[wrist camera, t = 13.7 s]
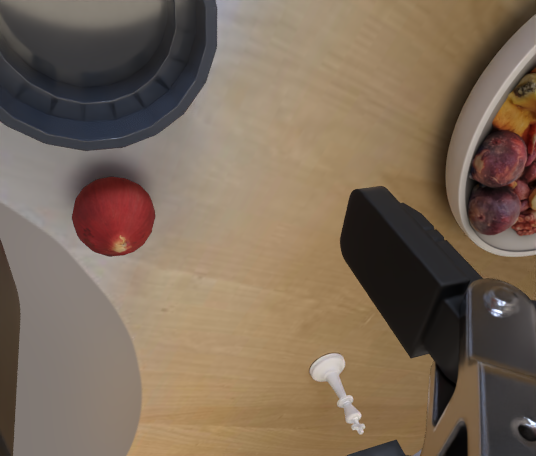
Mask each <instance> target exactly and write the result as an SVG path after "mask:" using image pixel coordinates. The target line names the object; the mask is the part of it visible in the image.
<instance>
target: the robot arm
mask: <svg viewBox="0 0 536 456" xmlns="http://www.w3.org/2000/svg"><path fill="white" fill-rule="evenodd" d="M340 246H341V252H342V255H343V257H344V260H345V261H346V263H347V264H348V266H349V267H350V269H351V270H352V272H353V273H354V275H355V276H356V278H357V279H358V281H359V282H360V284H361V285H362V287H363V288H364V290H365V291H366V292H367V294H368V295H369V297H370V298H371V300H372V301H373V303H374V304H375V306H376V307H377V309H378V310H379V312H380V313H381V315H382V316H383V318H384V319H385V321H386V322H387V324H388V325H389V327H390V328H391V330H392V331H393V333H394V334H395V336H396V337H397V338H398V340H399V341H400V343H401V344H402V346H403V347H404V349H405V350H406V352H407V353H408V355H409V356H410V358H414V357H418V356H422V355H425V354H430V355H431V357H432V358H433V360H434V361H433V363H432V365H431V368H430V378H429V391H428V405H427V419H426V432H425V439H424V444H423V448H422V451H421V454H420V456H536V301H535V300H530V299H529V297H528V296H527V295H526V294H525V293H523V292H522V291H521V290H519V289H518V288H516V287H515V286H513V285H511V284H509V283H506V282H504V281H501V280H496V279H489V278H485V279H483V278H482V277H481V276H480V275H479V274H478V273H477V272H476V271H475V270H474V269H473V268H472V267H471V265H470V264H469V263H468V262H467V261H466V260H465V259H464V258H463V257H462V256H461V255H460V254H459V253H458V252H457V251H456V250H455V249H454V248H453V246H452V245H451V244H450V243H449V242H448V241H447V240H446V241H445V240H444V237H443V236H442V235H441V234H440V233H439V232H438V231H437V230H434V226H433V225H432V224H431V223H430V222H429V221H428V220H427V219H426V218H425V217H424V216H423V215H422V214H421V213H420V212H418V211H416V210H415V209H413V208H411V207H410V206H408V205H406V204H404V203H400V202H399V201H398V200H397V199H396V198H395V197H394V196H393V195H392V194H391V193H390V192H389V191H388V189H386V188H385V187H383V186H378V187H370V188H363V189H355V190H353V191H352V193H351V195H350V198H349V202H348V206H347V210H346V215H345V219H344V224H343V228H342V232H341V237H340ZM19 333H20V303H19V297H18V292H17V289H16V285H15V282H14V279H13V276H12V273H11V270H10V267H9V264H8V261H7V258H6V255H5V251H4V249H3V245H2V243H1V240H0V456H13V442H14V424H15V406H16V387H17V369H18V349H19ZM347 456H409V455H405V454H404V452H403V450H402V449H401V447H400V445H399V443H398V441H397V440H394V441H390V442H387V443H384V444H381V445H378V446H375V447H371V448H368V449H365V450H362V451H359V452H356V453H352V454H349V455H347Z"/></svg>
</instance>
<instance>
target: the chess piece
mask: <svg viewBox="0 0 536 456" xmlns="http://www.w3.org/2000/svg"><path fill="white" fill-rule="evenodd" d="M344 367H345V361H344V358H343V356H342V355H340V354H337V353H332V354H327V355H325V356H322V357H321V358H319V359H318V360H316V361H315V362H314V363H313V364H312V366H311V368H310V375H311V376H312V378H313V379H314V380H316V381H319V382H323V381H328V383H329V384H330V385H331V387H332V388H333V390H334V391H335V393H336V394H337V396H338V397H339V399H340V400H339V401H338V402H337V405H338V406H339V407H340V408H344V412H345V419H346V422H347V423H350V424H351V423H354V425H352V426H351V428H352V430H357V431H358V433H359V434H363V432H364V431H363V429H364V428H365V425H364V424H359V422H358V420H359V419H360V418H361V413H360V412H359V411H358V410H357V409H356V408H355V407H354V406H353V405H352V404H351V403H352V402H353V397H352V396H350V395H348V396H346V393H345V391H344V388H343V386H342V383H341V380H340V377H339V374H340V373H341V372H342V371H343V369H344Z"/></svg>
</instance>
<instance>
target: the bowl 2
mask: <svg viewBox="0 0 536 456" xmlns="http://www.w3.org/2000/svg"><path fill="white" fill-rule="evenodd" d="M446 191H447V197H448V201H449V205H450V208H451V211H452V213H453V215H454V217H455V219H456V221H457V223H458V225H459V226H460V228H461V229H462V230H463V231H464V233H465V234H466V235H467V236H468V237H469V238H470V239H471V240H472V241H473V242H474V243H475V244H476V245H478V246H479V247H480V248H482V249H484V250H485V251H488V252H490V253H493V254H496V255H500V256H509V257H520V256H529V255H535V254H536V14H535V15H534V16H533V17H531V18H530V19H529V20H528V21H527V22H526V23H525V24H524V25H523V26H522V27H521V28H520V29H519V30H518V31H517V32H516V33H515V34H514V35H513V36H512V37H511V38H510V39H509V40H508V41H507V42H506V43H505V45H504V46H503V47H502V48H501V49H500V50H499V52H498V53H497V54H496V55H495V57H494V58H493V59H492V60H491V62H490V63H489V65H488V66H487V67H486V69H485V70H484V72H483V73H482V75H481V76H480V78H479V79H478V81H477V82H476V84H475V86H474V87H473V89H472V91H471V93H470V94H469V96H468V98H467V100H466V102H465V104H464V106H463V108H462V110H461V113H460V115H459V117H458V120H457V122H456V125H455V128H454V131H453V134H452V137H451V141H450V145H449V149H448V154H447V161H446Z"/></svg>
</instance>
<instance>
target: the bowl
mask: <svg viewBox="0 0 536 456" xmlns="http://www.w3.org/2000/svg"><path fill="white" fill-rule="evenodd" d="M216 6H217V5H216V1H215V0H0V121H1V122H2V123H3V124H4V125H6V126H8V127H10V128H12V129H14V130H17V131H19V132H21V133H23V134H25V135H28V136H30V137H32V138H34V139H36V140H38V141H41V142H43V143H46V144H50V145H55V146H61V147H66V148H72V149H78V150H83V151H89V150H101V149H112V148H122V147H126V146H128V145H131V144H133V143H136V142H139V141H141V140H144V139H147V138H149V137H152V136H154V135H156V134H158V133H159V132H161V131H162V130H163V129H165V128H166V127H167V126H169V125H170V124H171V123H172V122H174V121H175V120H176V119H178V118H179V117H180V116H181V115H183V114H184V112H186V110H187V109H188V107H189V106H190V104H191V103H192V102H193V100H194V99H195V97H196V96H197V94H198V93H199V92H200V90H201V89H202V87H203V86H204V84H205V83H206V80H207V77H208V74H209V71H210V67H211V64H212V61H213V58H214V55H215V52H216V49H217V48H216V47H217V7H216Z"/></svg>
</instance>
